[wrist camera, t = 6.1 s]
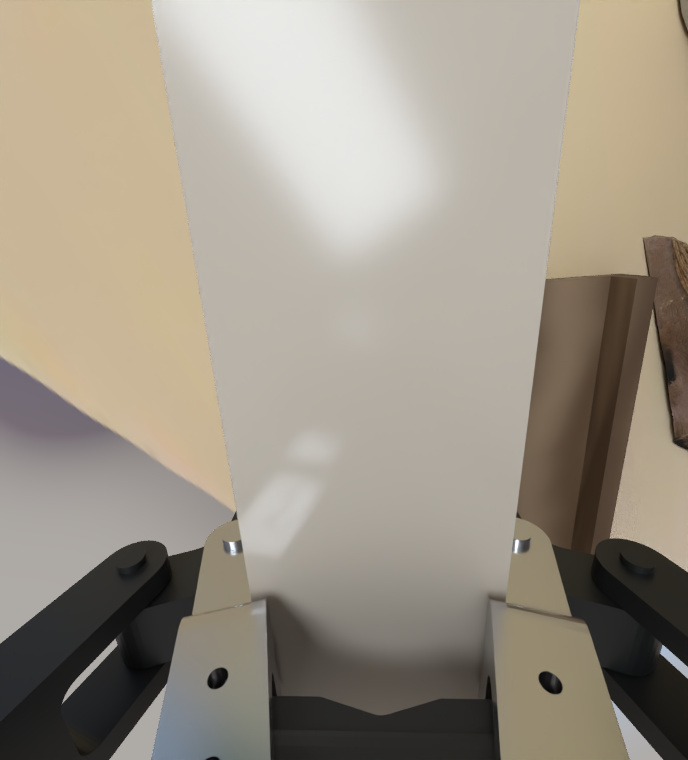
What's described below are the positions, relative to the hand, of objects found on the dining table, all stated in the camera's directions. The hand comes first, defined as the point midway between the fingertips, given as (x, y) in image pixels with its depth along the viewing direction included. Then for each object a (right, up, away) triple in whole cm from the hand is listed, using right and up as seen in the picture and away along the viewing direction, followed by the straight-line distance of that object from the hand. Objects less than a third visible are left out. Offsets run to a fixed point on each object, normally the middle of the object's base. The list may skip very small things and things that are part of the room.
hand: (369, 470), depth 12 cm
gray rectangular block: (0, +1, +2) cm, 2 cm away
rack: (+11, -2, +18) cm, 22 cm away
